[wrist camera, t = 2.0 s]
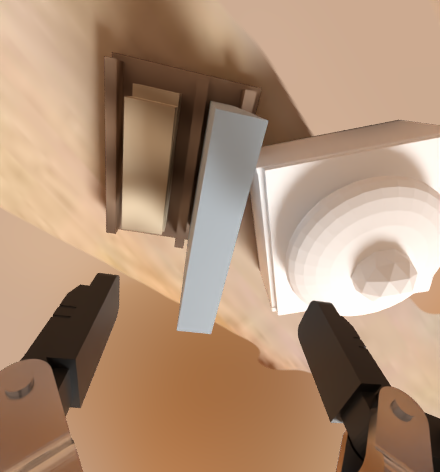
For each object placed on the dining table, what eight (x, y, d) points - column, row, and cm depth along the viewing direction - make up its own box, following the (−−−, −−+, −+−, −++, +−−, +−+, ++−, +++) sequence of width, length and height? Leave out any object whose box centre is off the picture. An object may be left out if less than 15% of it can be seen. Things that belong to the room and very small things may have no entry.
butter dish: (243, 149, 29) (278, 200, 15) (403, 118, 28) (594, 142, 14) (259, 270, 38) (290, 374, 24) (382, 249, 37) (488, 343, 23)
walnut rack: (117, 54, 24) (99, 46, 20) (258, 88, 26) (268, 87, 22) (115, 222, 32) (103, 240, 29) (222, 239, 34) (224, 257, 30)
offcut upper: (132, 96, 22) (124, 96, 20) (178, 106, 23) (175, 107, 21) (128, 218, 28) (121, 228, 26) (164, 224, 28) (161, 234, 26)
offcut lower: (139, 84, 24) (132, 83, 22) (181, 94, 25) (179, 93, 22) (133, 216, 31) (127, 226, 28) (167, 222, 31) (164, 231, 29)
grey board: (210, 100, 25) (215, 108, 11) (233, 105, 25) (268, 120, 11) (189, 225, 32) (176, 330, 18) (208, 228, 32) (210, 333, 18)
